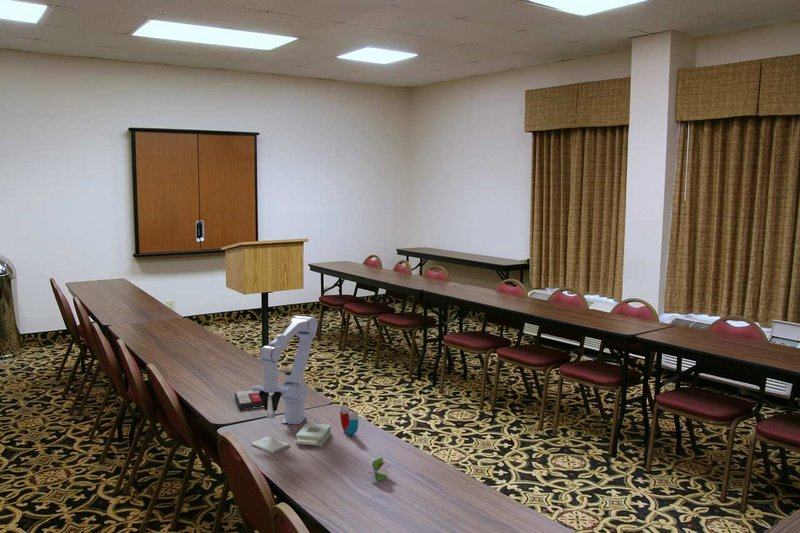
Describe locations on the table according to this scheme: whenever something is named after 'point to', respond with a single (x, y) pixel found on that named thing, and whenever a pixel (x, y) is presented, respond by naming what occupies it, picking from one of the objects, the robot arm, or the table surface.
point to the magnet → (348, 420)
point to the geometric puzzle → (379, 469)
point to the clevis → (313, 434)
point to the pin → (270, 407)
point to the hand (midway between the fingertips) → (270, 410)
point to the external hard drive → (270, 444)
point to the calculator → (248, 399)
